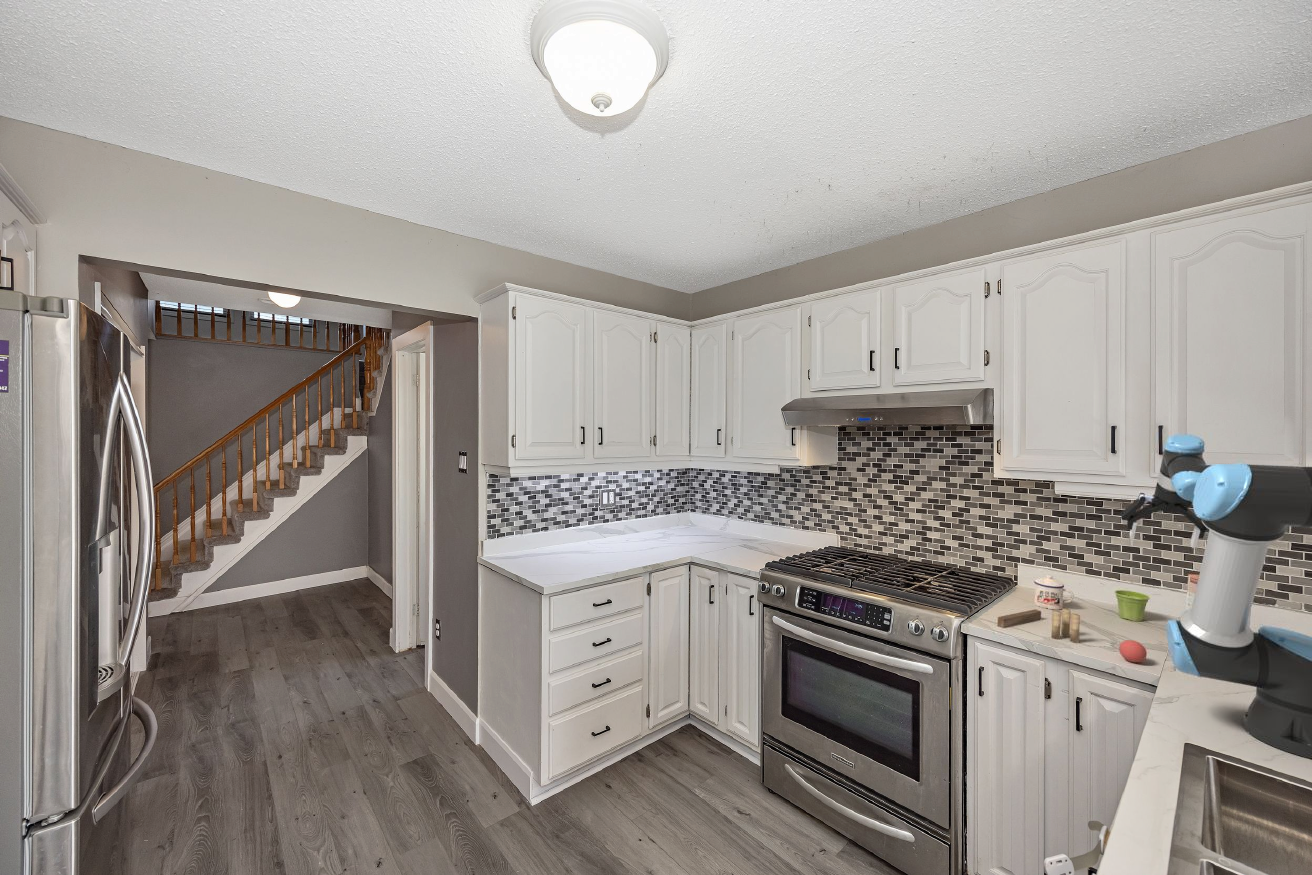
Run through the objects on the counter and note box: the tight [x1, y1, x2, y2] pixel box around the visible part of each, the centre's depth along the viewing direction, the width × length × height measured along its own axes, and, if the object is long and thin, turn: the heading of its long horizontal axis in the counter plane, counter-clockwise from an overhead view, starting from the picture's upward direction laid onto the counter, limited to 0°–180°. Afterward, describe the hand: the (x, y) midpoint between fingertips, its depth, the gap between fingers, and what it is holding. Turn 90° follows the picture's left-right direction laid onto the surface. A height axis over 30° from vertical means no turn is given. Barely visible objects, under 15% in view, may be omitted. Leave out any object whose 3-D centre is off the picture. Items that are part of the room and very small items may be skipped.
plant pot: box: [1114, 589, 1151, 622], centre depth 190 cm, size 9×9×9 cm
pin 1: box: [1051, 610, 1062, 640], centre depth 172 cm, size 2×2×8 cm
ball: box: [1118, 639, 1148, 663], centre depth 156 cm, size 6×6×6 cm
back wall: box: [996, 609, 1042, 629], centre depth 185 cm, size 2×20×3 cm, turn 114°
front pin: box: [1069, 613, 1081, 644], centre depth 169 cm, size 2×2×8 cm
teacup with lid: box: [1033, 574, 1074, 611], centre depth 201 cm, size 12×9×12 cm
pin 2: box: [1060, 608, 1072, 638], centre depth 174 cm, size 2×2×8 cm
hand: (1161, 540), depth 162 cm, fingers open, 13 cm apart
